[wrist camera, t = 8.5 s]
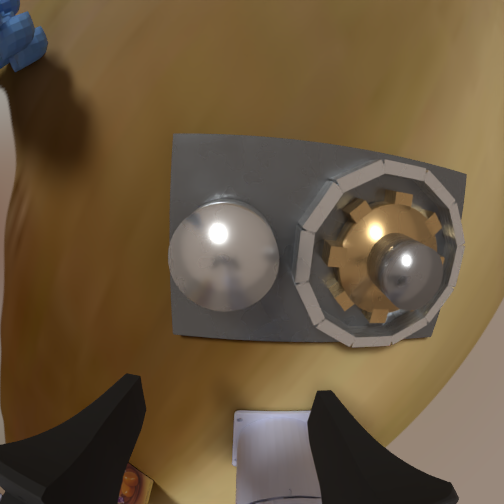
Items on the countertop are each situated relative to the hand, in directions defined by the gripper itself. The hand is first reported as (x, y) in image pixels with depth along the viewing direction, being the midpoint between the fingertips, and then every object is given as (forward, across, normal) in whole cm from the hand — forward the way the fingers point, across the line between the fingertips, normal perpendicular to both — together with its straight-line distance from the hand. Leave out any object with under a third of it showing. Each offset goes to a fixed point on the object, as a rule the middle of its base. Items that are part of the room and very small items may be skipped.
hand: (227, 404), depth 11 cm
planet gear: (+8, -9, -5) cm, 13 cm away
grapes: (+10, +18, -19) cm, 28 cm away
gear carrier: (+9, -6, -4) cm, 12 cm away
